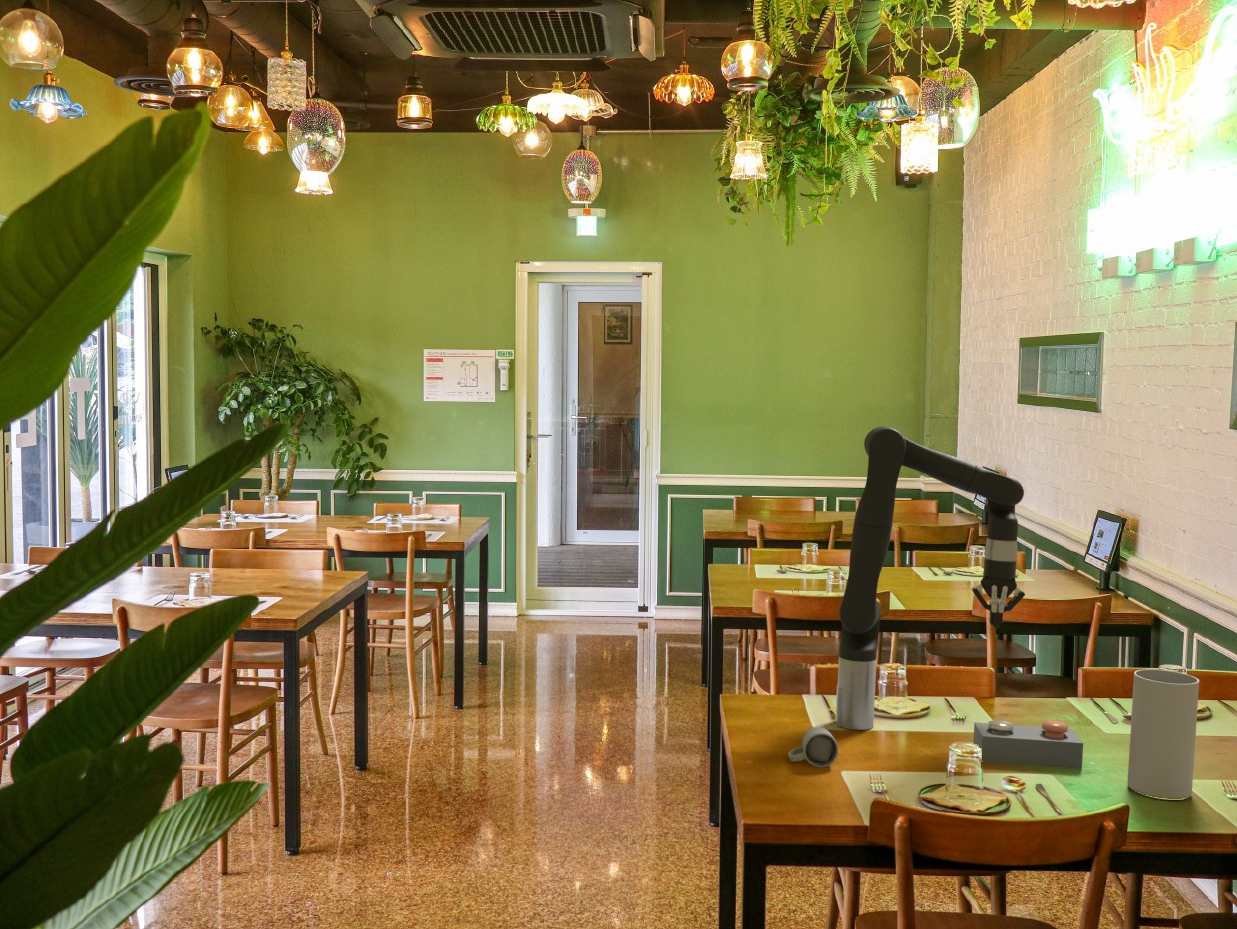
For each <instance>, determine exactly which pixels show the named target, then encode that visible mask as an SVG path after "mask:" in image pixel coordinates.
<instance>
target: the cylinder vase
mask: <svg viewBox="0 0 1237 929" xmlns="http://www.w3.org/2000/svg"><path fill="white" fill-rule="evenodd" d="M1132 686H1133V688H1132V703H1131V717H1130V718H1131V720H1130V732H1129V733H1130V735H1129V752H1128V753H1129V754H1128V766H1127V768H1128V769H1127V785H1128V788H1129V789H1130V788H1131V789H1132V790H1131V789H1130V790H1131V791H1133V790H1134V791H1136V792H1139V793H1141V794H1144V795H1148V796H1152V797H1158V798H1167V799H1182V798H1187V797H1189V796H1190V797H1191V796H1192V794H1193V793H1192V792H1193V782H1194V781H1193V780H1194V769H1195V768H1194V767H1195V766H1194V764H1195V750H1196V739H1197V738H1196V734H1197V721H1198V720H1197V719H1198V707H1199V706H1198V702H1199V691H1200V690H1199V688H1200V679H1199V678H1197V677H1195V676H1193V675H1190V674H1186V673H1183V672H1178V671H1174V670H1165V669H1156V668H1155V669H1153V668H1149V669H1147V668H1145V669H1138V670H1135V671H1134V672H1133V685H1132ZM1134 791H1133V792H1134ZM1136 792H1135V793H1136ZM1190 797H1189V798H1190ZM1187 799H1188V798H1187Z"/></svg>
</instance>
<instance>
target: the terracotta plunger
mask: <svg viewBox="0 0 1237 929" xmlns="http://www.w3.org/2000/svg"><path fill="white" fill-rule="evenodd" d="M1041 727H1042V729H1044V730H1045V737H1056V738H1064V733H1065V732H1067V731H1068V729H1069V725H1068V723H1066V722H1062V721H1058V720H1049V719H1048V720H1043V721H1042V722H1041Z"/></svg>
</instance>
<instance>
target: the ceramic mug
mask: <svg viewBox="0 0 1237 929" xmlns="http://www.w3.org/2000/svg"><path fill="white" fill-rule="evenodd" d="M801 740H802V741H801V745H798V746H797V747H795V748H792V749H791V750H790V751H789V752H788V753H787V757H788V759H789V761H790V762H793V763H796V762H800V761H804V760H806V761H807V762H808V764H810V765H811V766H813V767H817V768H826V767H829V766H831V765H832V764H834V763H835V761H836V759H838V758H837V757H838V755H839V746H838V742H837V740H836V739H835V737H834V736H833V735H832V733H831V732H830V731H829V730H828V729H826V728H824V727H822V726H815V727H812V728H809V729H808V730H806V732H805V733H804V734H803V736H802V739H801Z"/></svg>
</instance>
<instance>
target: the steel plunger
mask: <svg viewBox="0 0 1237 929" xmlns="http://www.w3.org/2000/svg"><path fill="white" fill-rule="evenodd" d="M987 723H988V728H989V729H990V730H991V733H998V734H1010V732H1013V728H1014V725H1015V724H1014V723H1012V722H1010V721H1006V720H1001V719H1000V720H998V719H996V720H995V719H994V720H993V719H992V720H989V721H988V722H987Z"/></svg>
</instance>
